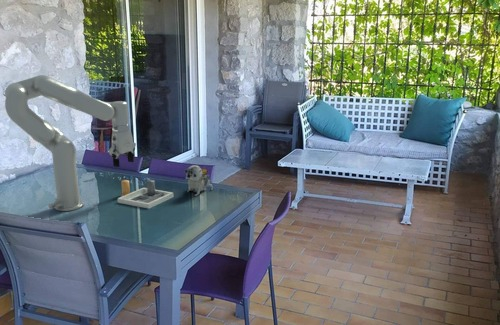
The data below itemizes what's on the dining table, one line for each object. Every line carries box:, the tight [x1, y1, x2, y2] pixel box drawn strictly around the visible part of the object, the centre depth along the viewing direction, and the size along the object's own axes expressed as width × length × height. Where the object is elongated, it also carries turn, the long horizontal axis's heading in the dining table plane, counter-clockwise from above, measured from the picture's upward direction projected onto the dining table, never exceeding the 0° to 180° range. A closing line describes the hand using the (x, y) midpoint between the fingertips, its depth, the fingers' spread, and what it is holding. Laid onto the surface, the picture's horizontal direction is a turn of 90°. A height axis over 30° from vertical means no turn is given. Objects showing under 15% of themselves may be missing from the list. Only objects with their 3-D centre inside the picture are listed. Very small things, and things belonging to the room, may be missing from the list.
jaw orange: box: [120, 179, 131, 197], centre depth 232 cm, size 5×5×8 cm
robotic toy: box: [184, 164, 214, 197], centre depth 236 cm, size 13×17×15 cm
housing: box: [117, 187, 174, 210], centre depth 226 cm, size 18×18×3 cm
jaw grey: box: [146, 179, 156, 197], centre depth 229 cm, size 5×5×8 cm
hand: (123, 164), depth 230 cm, fingers open, 9 cm apart
